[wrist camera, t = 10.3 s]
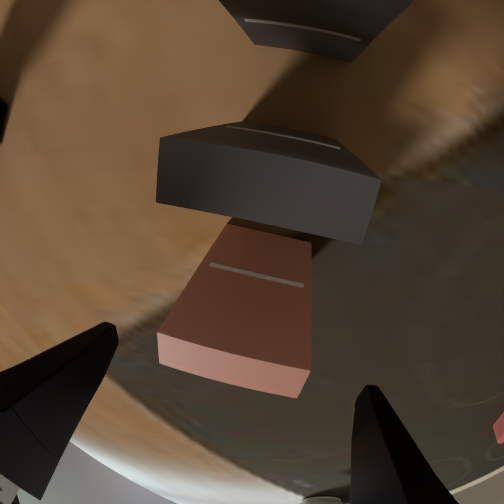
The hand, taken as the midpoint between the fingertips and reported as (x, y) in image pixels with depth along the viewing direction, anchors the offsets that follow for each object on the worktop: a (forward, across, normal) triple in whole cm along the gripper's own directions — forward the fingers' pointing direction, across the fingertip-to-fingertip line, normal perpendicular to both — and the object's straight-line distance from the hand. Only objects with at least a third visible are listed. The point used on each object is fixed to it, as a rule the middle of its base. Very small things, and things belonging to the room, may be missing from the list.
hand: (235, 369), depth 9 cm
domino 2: (+9, 0, -6) cm, 11 cm away
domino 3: (+9, 0, 0) cm, 9 cm away
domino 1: (+9, 0, -12) cm, 15 cm away
